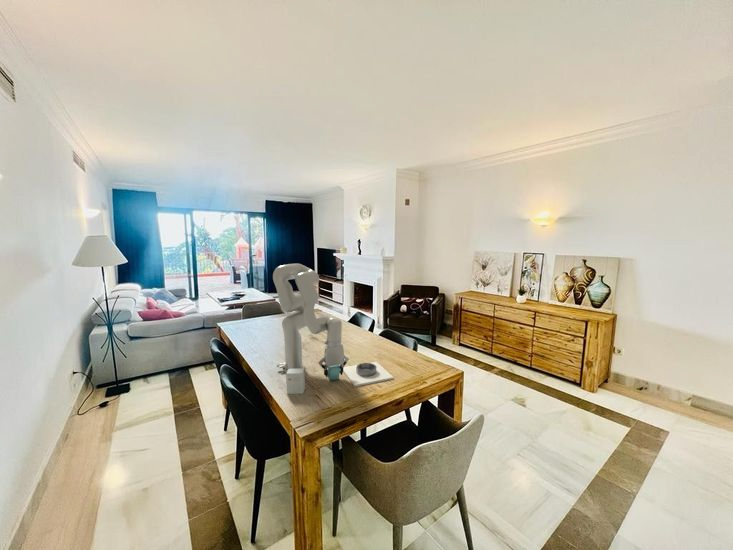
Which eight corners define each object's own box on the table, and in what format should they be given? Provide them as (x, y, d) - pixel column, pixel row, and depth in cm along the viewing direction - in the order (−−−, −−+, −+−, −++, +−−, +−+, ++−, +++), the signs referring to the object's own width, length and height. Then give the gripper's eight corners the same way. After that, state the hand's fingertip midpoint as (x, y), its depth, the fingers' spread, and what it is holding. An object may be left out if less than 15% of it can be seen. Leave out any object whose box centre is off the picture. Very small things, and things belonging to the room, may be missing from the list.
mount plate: (354, 386, 150) (354, 384, 150) (341, 369, 170) (341, 367, 170) (393, 378, 159) (393, 377, 159) (376, 363, 179) (376, 361, 179)
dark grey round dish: (360, 378, 157) (360, 372, 157) (353, 369, 167) (353, 364, 167) (379, 374, 162) (379, 369, 161) (371, 366, 171) (371, 361, 171)
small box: (305, 388, 149) (304, 368, 148) (303, 393, 143) (302, 373, 142) (289, 388, 149) (288, 368, 147) (286, 394, 143) (285, 373, 142)
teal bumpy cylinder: (328, 380, 154) (328, 369, 153) (325, 375, 159) (325, 365, 159) (342, 378, 157) (342, 367, 156) (338, 373, 162) (338, 363, 161)
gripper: (319, 347, 149) (319, 380, 151) (352, 343, 155) (351, 375, 158) (316, 342, 155) (315, 374, 158) (347, 338, 162) (346, 369, 165)
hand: (333, 374), depth 158 cm, fingers closed on teal bumpy cylinder, 7 cm apart
